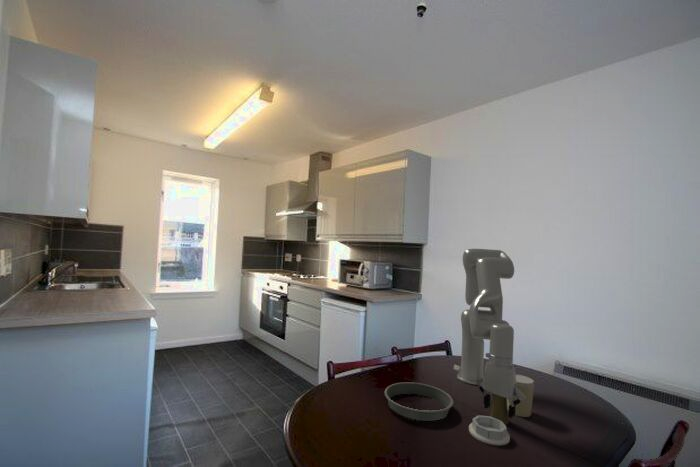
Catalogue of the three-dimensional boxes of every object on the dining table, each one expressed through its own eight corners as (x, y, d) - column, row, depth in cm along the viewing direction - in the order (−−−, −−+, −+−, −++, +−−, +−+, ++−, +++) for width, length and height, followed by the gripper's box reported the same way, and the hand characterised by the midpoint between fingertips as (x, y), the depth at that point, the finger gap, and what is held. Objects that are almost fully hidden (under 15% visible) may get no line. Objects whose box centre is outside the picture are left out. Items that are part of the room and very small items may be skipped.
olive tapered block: (510, 426, 112) (511, 392, 112) (491, 423, 113) (492, 390, 114) (505, 417, 118) (506, 385, 118) (487, 414, 119) (488, 383, 120)
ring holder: (461, 432, 106) (462, 421, 106) (479, 420, 114) (479, 410, 114) (500, 450, 97) (500, 438, 98) (516, 436, 106) (516, 425, 106)
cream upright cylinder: (530, 408, 126) (531, 376, 126) (535, 420, 117) (536, 385, 118) (503, 403, 129) (504, 372, 129) (506, 414, 120) (507, 380, 121)
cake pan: (464, 409, 123) (465, 397, 123) (430, 433, 105) (431, 419, 105) (407, 387, 139) (408, 376, 140) (370, 405, 121) (371, 392, 122)
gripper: (471, 355, 120) (469, 405, 119) (523, 370, 108) (521, 426, 107) (481, 351, 125) (479, 399, 125) (531, 365, 113) (529, 419, 112)
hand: (498, 411), depth 116 cm, fingers open, 7 cm apart
